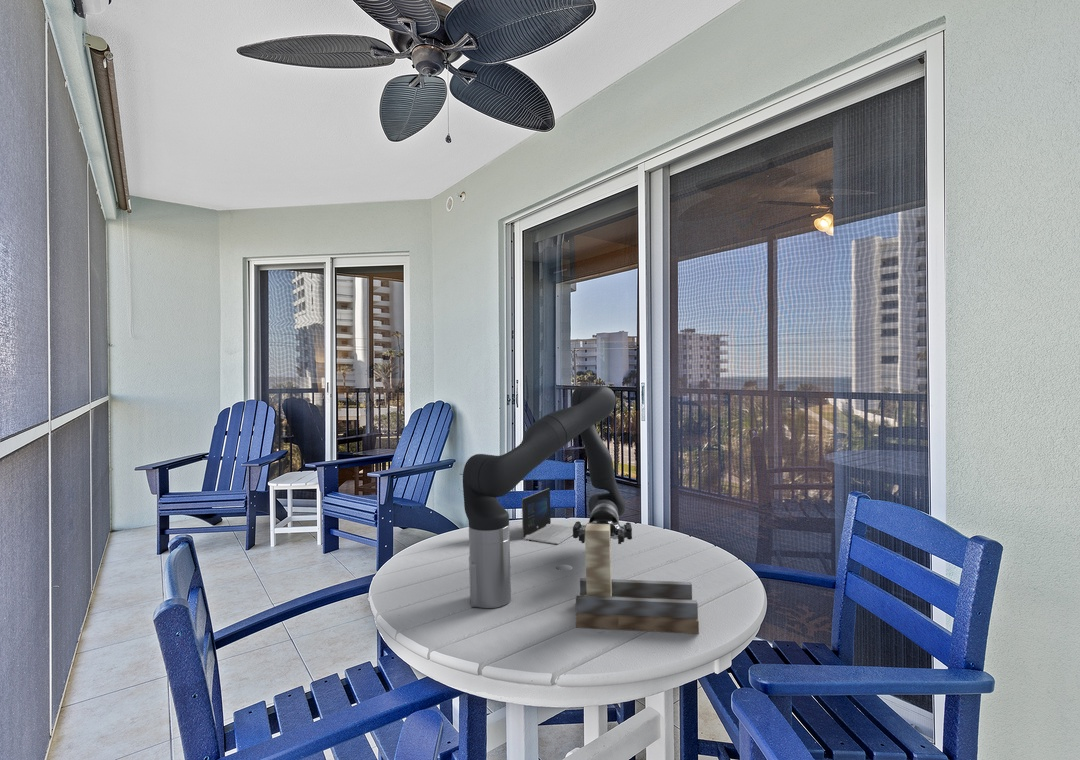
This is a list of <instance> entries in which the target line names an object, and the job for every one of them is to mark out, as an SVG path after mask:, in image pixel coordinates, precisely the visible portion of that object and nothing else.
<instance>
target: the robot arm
mask: <svg viewBox="0 0 1080 760" xmlns="http://www.w3.org/2000/svg"><path fill="white" fill-rule="evenodd" d="M570 401H571V406H569V407H566V408H561V409H558V410H555V411H553V412H550V413H547V414H546V415H543V416H542V417H540V418H539V419H538V420H536V421H535V422H533V423H531V425H530V426H528V427H527V428H526V431H525V432H524V434H523V437H522V440H521V442H520V444H518V445H517V446H516V447H514V448H513V449H511V450H510V451H508V452H506V453H504V454H500V455H494V454H493V455H492V454H487V453H486V454H485V453H477V454H473V455H472V456H470V457H469V458H468V459H467V461H466V462H465V464H464V467H463V470H462V492H463V507H464V512H465V515H466V517H467V521H468V544H469V545H468V546H469V547H468V549H469V550H468V551H469V556H468V572H469V573H468V575H469V577H468V578H469V579H468V580H469V598H470V606H471V608H482V609H494V608H499V607H503V606H505V605H508V603H510V602H511V600H512V585H511V584H512V583H511V580H512V579H511V578H512V576H511V545H510V544H511V542H510V541H511V540H510V515H509V512H508V510H507V509H505V508H504V506H502V505H501V504H500V501H499V500H498V499H497V498H501V497H504V496H505V495H507V494H508V493H510V492H511V491H512V490H513V489H514V488H515V487H516V486H518V485H519V483H520V482H521V481H522V480H524V479H525V478H526V477H527V476H528V475H529V474H530V473H531V472H532V471H533V470H534V469H535V468H537V467H538V466H539V465H541V464H542V463H543V462H545V461H546V460H547V459H548V458H550V457H552V456H553V455H554V454H556V453H558V451H560V450H561V449H563V448H564V447H565V446H566V445H568V443H570V442H571V441H573V440H574V439H576V438H577V437H578V436H579V435H580V438H581V440H582V443H583V447H584V450H585V454H586V458H587V459H586V460H587V463H588V470H589V476H590V477H589V478H590V483H591V486H592V487H593V488H595V489H596V490H597V489H598V490H604V491H607V492H606V493H603V492H602V493H595V494H593V495H591V496H590V497H589V500H588V510H589V513H590V516H589V519H588V522H587V523H586V524H583V523H582V522H581V521H575V523H574V524H573V526H572V527H573V535H572V538H573V539H578V541H579V542H580V543H581V544H585V529H586V525H587V524H610V539H613V540H617V543H618V544H617V545H622V543H625V539H627V540H629V541H630V540H631V541H632V540H633V527H632V523H631V522H628V521H627V522H626V523H624V524H623V525H620V521H619V519H620V518H619V517H621V516H623V515H624V514H625V511H626V503H625V499H624V497H623V494H622V492H621V491H620V489H619V486H618V483H617V480H616V477H615V469H614V462H613V458H612V454H611V452H610V450H609V449H608V447H607V446H606V443H605V442H604V441H603V439H602V438H601V436H600V434H599V433H598V430H597V428H596V425H597V424H598V423H600V422H601V421H603V420H606V419H607V418H608V417H609V416H611V414H612V413H613V411H614V409H615V406H616V401H617V400H616V396H615V392H614V391H613V390H612V389H611V388H609V387H607V386H605V385H585V384H584V385H579V386H577V387H576V388H575V389H574V390H573V392H572V394H571V399H570ZM498 501H499V502H498Z"/></svg>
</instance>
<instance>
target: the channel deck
mask: <svg viewBox="0 0 1080 760" xmlns="http://www.w3.org/2000/svg"><path fill="white" fill-rule="evenodd" d="M611 582H612V597H603V596H587V590H586V577H581V578H579V588H580V589H579V593H580V594H579V595H575V596H576V597H575V612H576V613H575V628H579V629H580V628H581V629H599V630H617V631H619V630H620V631H635V632H636V631H639V632H656V633H657V632H659V633H677V634H678V633H679V634H694V635H695V634H697V635H699V634H700V632H699V629H700V628H699V625H700V624H699V609H698V605H699V604H698V601H697V600H696V599H693V585H692V582H691V581H672V580H671V581H667V580H642V579H616V578H615V579H614V578H611Z"/></svg>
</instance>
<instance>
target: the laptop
mask: <svg viewBox="0 0 1080 760" xmlns="http://www.w3.org/2000/svg"><path fill="white" fill-rule="evenodd" d="M521 514H522V516H521V521H522V522H521V523H522V525H521V526H522V527H521V528H522V538H523V539H526V540H525V541H528V540H531V541H530V542H534V541H537V542H536V543H542V542H543V544H551V545H559V544H561V543H562V542H564V541H565V540H567V539H569V538H571V537H573V526H569V525H562V524H556V523H551V522H552V521H551V518H552V517H551V516H552V515H551V488H549V487H548V488H545V489H544V490H543V489H542V490H541V491H538V492H535V493H533V494H530V495H529V496H526V497H524V498H522V499H521Z"/></svg>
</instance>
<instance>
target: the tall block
mask: <svg viewBox="0 0 1080 760" xmlns="http://www.w3.org/2000/svg"><path fill="white" fill-rule="evenodd" d="M586 524H587V523H586ZM586 524H585V525H586ZM611 543H612V542H611V538H610V524H587V525H586V529H585V543H584V545H585V549H584V550H585V578H586V590H587V596H603V597H612V582H611V579H612V551H611V549H612V548H611V547H612V544H611Z"/></svg>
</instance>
